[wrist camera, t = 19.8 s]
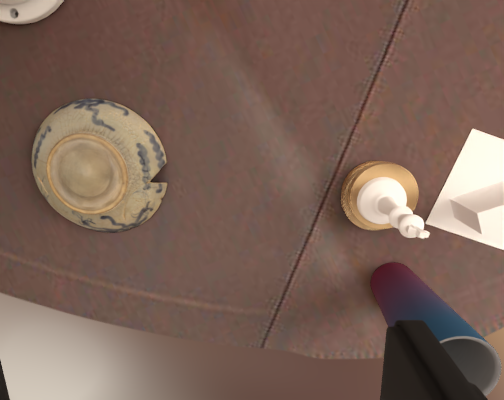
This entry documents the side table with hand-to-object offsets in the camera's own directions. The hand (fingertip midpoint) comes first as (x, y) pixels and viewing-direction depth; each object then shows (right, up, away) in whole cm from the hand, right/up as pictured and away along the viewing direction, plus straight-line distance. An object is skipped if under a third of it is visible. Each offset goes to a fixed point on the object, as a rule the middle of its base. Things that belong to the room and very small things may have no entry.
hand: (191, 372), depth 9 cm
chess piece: (+15, +4, +29) cm, 33 cm away
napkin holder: (+30, +4, +32) cm, 44 cm away
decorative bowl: (-15, +8, +32) cm, 36 cm away
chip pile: (+15, +5, +32) cm, 35 cm away
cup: (+18, -6, +35) cm, 40 cm away
